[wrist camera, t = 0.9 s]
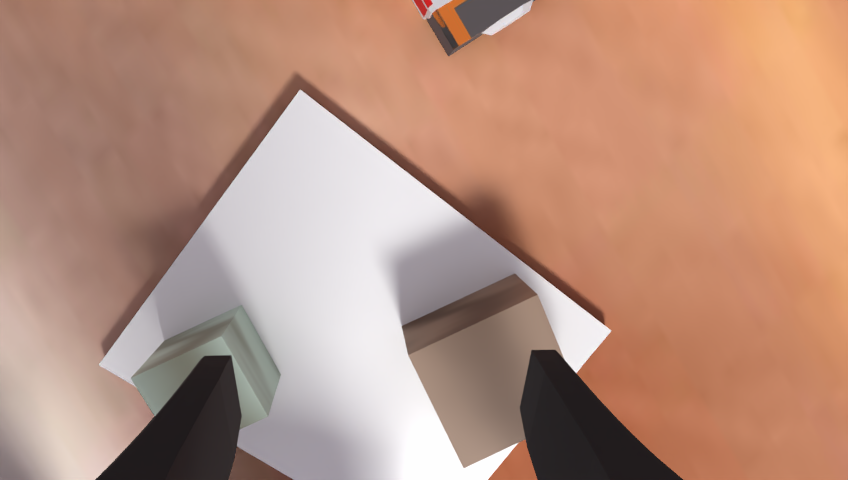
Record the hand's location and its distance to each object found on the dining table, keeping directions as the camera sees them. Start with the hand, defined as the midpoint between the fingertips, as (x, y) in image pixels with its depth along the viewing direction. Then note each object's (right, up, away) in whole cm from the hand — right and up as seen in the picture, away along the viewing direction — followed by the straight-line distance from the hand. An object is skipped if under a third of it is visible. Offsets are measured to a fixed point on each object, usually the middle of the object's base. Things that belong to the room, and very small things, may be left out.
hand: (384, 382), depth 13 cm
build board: (-2, -2, +18) cm, 18 cm away
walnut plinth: (+4, -3, +18) cm, 19 cm away
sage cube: (-10, -3, +16) cm, 19 cm away
